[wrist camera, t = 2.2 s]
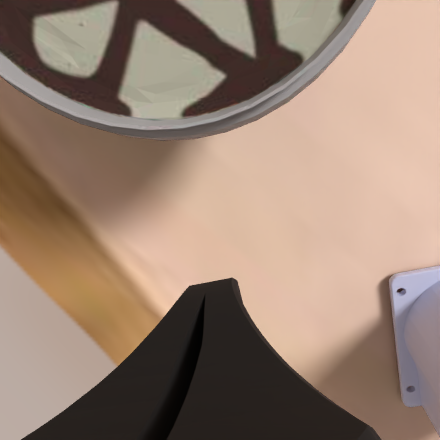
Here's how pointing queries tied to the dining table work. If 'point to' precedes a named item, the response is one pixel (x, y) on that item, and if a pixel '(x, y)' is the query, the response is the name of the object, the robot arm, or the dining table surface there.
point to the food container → (171, 59)
